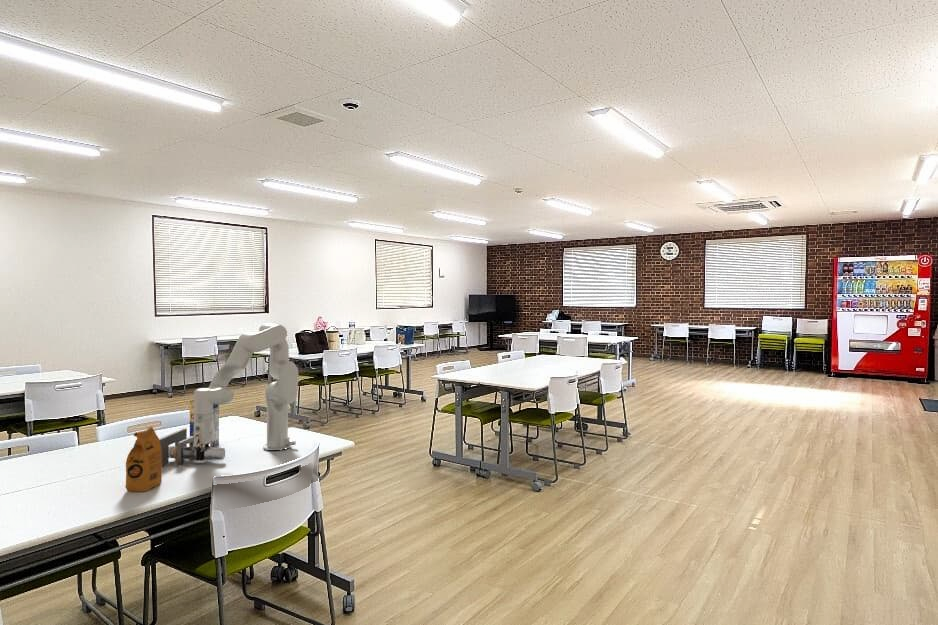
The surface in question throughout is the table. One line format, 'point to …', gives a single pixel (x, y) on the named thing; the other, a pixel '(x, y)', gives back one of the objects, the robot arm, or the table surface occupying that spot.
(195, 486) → the table surface
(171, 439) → the plate
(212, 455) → the steel tube
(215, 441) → the blue food box
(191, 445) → the collar
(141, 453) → the coffee package
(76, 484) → the table surface
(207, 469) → the table surface
